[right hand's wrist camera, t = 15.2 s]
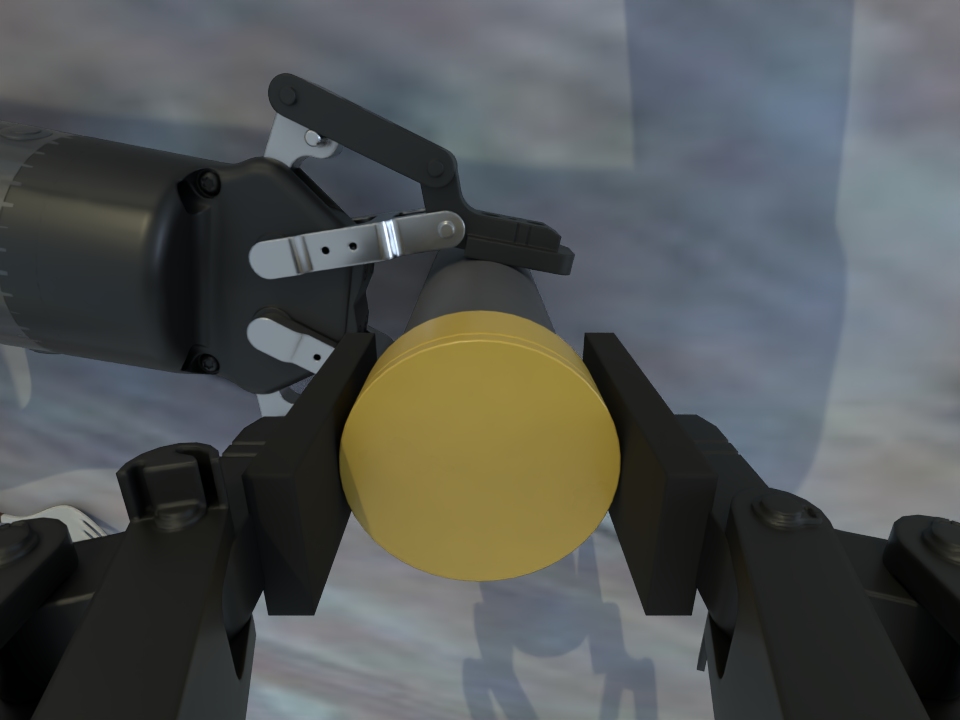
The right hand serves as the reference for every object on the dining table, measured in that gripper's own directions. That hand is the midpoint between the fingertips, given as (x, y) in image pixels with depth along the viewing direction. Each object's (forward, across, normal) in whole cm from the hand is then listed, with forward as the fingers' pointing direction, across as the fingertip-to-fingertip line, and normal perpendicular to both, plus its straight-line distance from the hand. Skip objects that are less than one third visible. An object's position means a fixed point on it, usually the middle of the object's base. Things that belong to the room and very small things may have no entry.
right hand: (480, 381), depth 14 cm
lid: (-4, 0, 0) cm, 4 cm away
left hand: (+6, -3, 0) cm, 6 cm away
